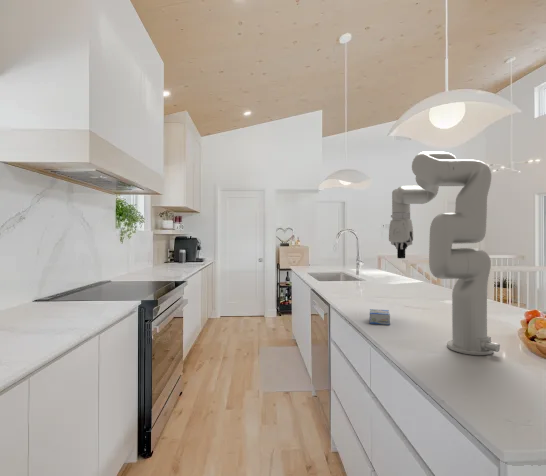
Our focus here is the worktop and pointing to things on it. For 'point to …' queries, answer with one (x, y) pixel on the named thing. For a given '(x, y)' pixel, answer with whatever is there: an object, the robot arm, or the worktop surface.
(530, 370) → the worktop surface
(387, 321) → the medicine box
